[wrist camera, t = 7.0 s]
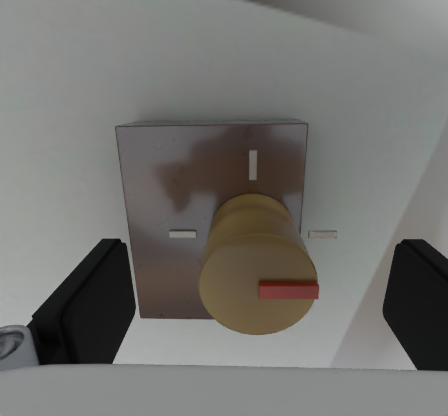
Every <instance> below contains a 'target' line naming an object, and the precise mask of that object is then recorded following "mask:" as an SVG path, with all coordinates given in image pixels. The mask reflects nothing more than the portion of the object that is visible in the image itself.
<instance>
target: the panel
mask: <svg viewBox="0 0 448 416" xmlns="http://www.w3.org/2000/svg"><path fill="white" fill-rule="evenodd" d="M115 130H116V138H117V145H118V153H119V160H120V168H121V175H122V183H123V190H124V198H125V205H126V213H127V221H128V228H129V236H130V243H131V251H132V258H133V266H134V273H135V281H136V288H137V296H138V303H139V311H140V318H157V319H214V318H213V317H212V316H211V315H210V314H209V312H208V311H207V309H206V308H205V306H204V304H203V302H202V300H201V297H200V294H199V287H198V280H199V274H200V269H201V265H202V260H203V256H204V251H205V247H206V242H207V238H208V233H209V229H210V225H211V221H212V219H213V217H214V215H215V213H216V212H217V210H218V209H219V208H220V207H221V206H222V205H223V204H224V203H226V202H227V201H229V200H230V199H232V198H234V197H237V196H240V195H245V194H261V195H265V196H269V197H271V198H273V199H275V200H277V201H278V202H280V203H281V204H282V205H283V206H284V207H285V208H286V209H287V210H288V212H289V213H290V215H291V217H292V219H293V221H294V223H295V225H296V227H297V230H298V232H299V234H300V231H301V217H302V204H303V190H304V176H305V162H306V148H307V134H308V123H305V122H302V121H299V120H296V119H289V120H225V121H160V122H133V123H128V124H123V125H118V126H115ZM308 237H309V238H337V231H309V235H308Z"/></svg>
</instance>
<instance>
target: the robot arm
mask: <svg viewBox="0 0 448 416" xmlns="http://www.w3.org/2000/svg"><path fill="white" fill-rule="evenodd" d="M135 310H136V304H135V297H134V290H133V284H132V277H131V271H130V264H129V257H128V251H127V245H126V243H122V242H121V240H120V239H102V240H101V241H100V242H99V243H98V244H97V245H96V246H95V247H94V248H93V249H92V251H91V252H90V253H89V254H88V255H87V256H86V257H85V258H84V259H83V260H82V262H81V263H80V264H79V265H78V266H77V267H76V268H75V269H74V270H73V271H72V272H71V274H70V275H69V276H68V277H67V278H66V279H65V280H64V281H63V282H62V283H61V285H60V286H59V287H58V288H57V289H56V290H55V291H54V292H53V293H52V294H51V295H50V297H49V298H48V299H47V300H46V301H45V302H44V303H43V304H42V305H41V306H40V308H39V309H38V310H37V311H36V312H35V313H34V314H33V315H32V318H33V319H32V321H31V322H30V323H29V324H28V325H27V326H26V327H25V326H23V325H10V326H4V327H1V328H0V416H448V259H447V258H446V257H445V256H443V255H442V254H441V253H440V252H438V251H437V250H436V249H435V248H433V247H432V246H431V245H430V244H428V243H427V242H426V241H425V240H423V239H404V240H403V241H401V243H400V244H397V245H396V247H395V251H394V256H393V260H392V265H391V270H390V275H389V280H388V284H387V290H386V294H385V299H384V304H383V316H384V318H385V320H386V322H387V323H388V325H389V326H390V328H391V329H392V331H393V332H394V334H395V335H396V337H397V339H398V340H399V342H400V344H401V345H402V347H403V348H404V350H405V351H406V353H407V354H408V356H409V358H410V359H411V361H412V362H413V364H414V365H415V367H416V368H417V370H386V369H385V370H384V369H341V368H297V367H248V366H202V365H144V364H112V363H113V361H114V358H115V356H116V354H117V352H118V350H119V348H120V345H121V343H122V341H123V339H124V337H125V335H126V332H127V330H128V328H129V326H130V324H131V321H132V319H133V317H134V315H135Z"/></svg>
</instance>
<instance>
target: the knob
mask: <svg viewBox="0 0 448 416" xmlns="http://www.w3.org/2000/svg"><path fill="white" fill-rule="evenodd" d="M198 287H199V294H200V297H201V300H202V302H203V304H204V306H205V308H206V309H207V311H208V312H209V314H210V315H211V316H212V317H213V318H214V319H215V320H216V321H218V322H219V323H220V324H222V325H223V326H225V327H227V328H229V329H231V330H234V331H236V332H240V333H244V334H250V335H265V334H272V333H276V332H279V331H282V330H284V329H287V328H288V327H290V326H292V325H294V324H295V323H297V322H298V321H299V320H300V319H301V318H303V317H304V315H305V314H306V313H307V312H308V311H309V309H310V308H311V306H312V304H313V302H314V299H318V294H319V285H318V279H317V273H316V270H315V267H314V264H313V262H312V260H311V258H310V256H309V253H308V251H307V249H306V247H305V245H304V243H303V240H302V238H301V236H300V234H299V232H298V230H297V227H296V225H295V223H294V221H293V219H292V217H291V215H290V213H289V212H288V210H287V209H286V208H285V207H284V206H283V205H282V204H281V203H280V202H278V201H277V200H275V199H273V198H271V197H269V196H265V195H261V194H245V195H240V196H237V197H234V198H232V199H230V200H229V201H227V202H226V203H224V204H223V205H222V206H221V207H220V208H219V209H218V210H217V212H216V213H215V215H214V217H213V219H212V221H211V225H210V229H209V233H208V238H207V242H206V247H205V251H204V256H203V260H202V265H201V269H200V274H199V280H198Z"/></svg>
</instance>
